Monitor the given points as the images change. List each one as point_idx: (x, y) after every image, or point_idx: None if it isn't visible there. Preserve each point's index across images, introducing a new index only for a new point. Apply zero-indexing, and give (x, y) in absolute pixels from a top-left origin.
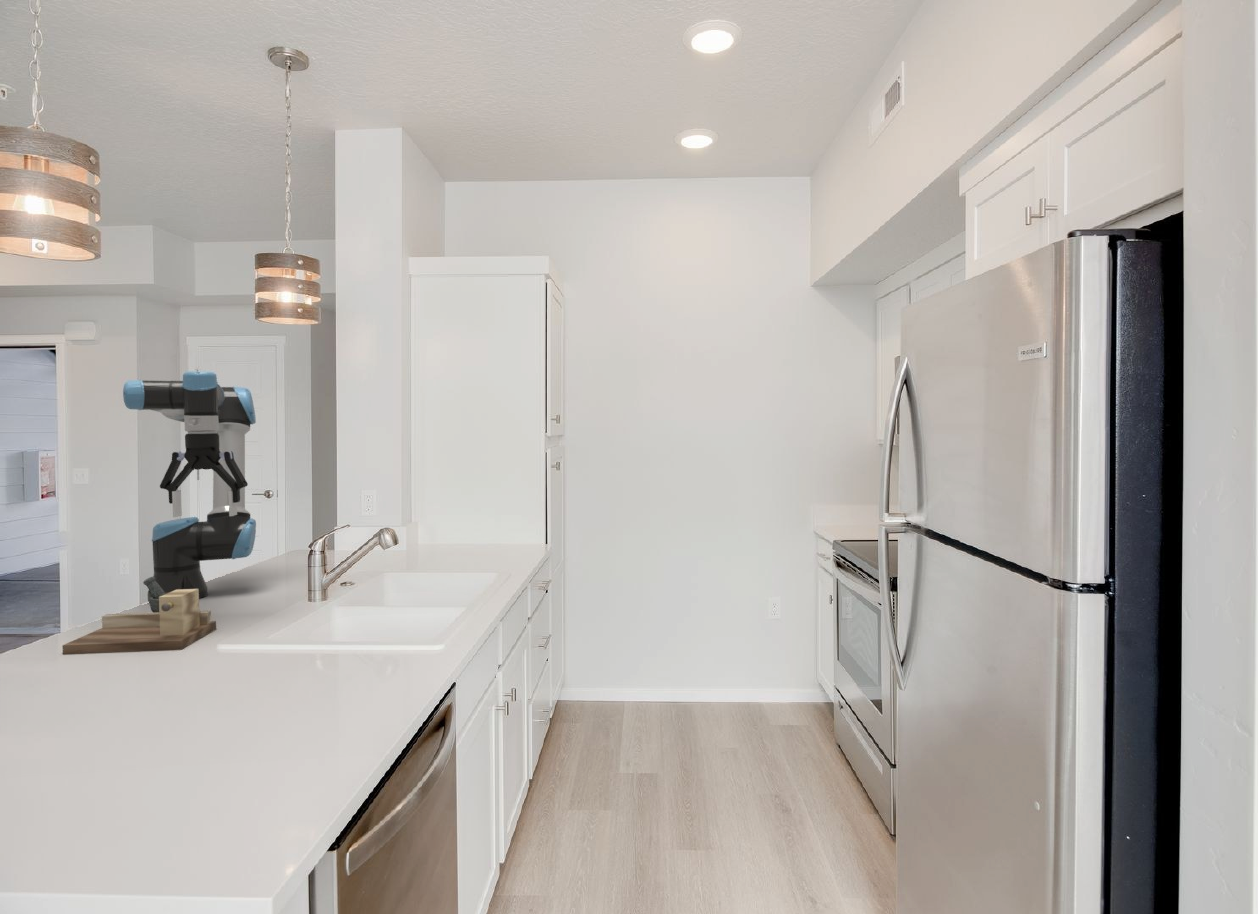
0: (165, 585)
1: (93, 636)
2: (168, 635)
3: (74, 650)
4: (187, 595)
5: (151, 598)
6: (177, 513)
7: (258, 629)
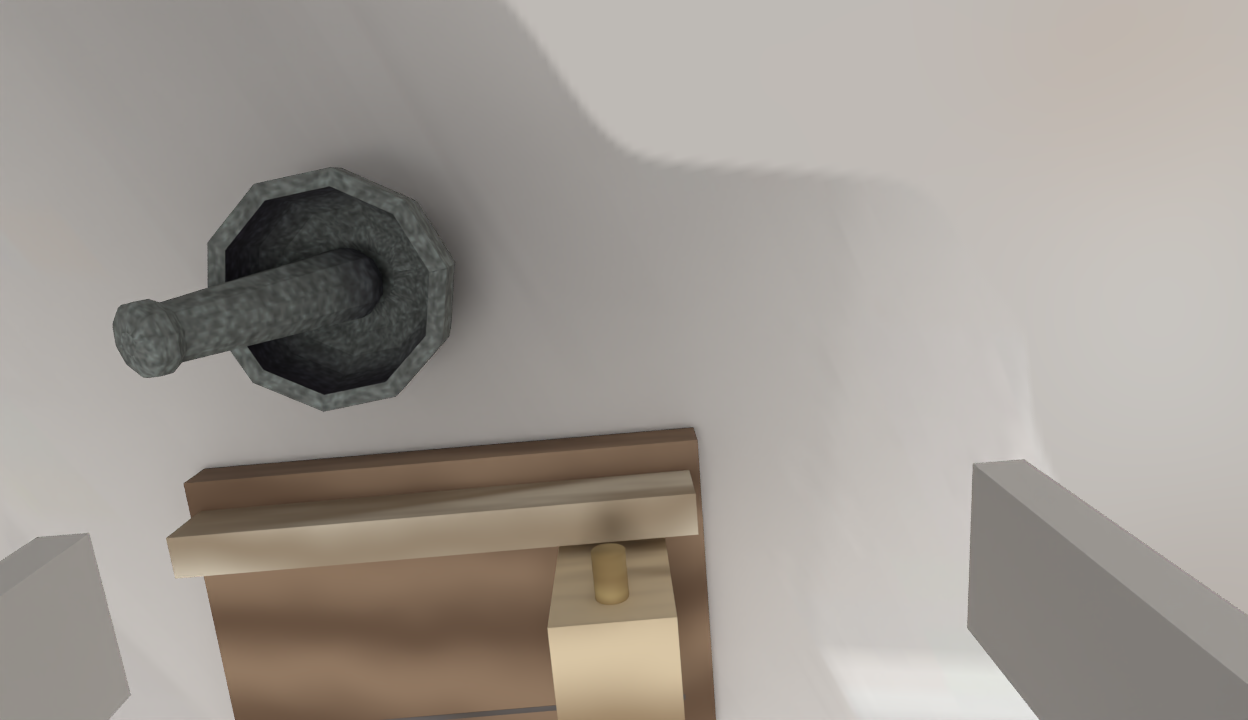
0: None
1: (275, 669)
2: None
3: None
4: None
5: (254, 369)
6: (86, 691)
7: (902, 443)
